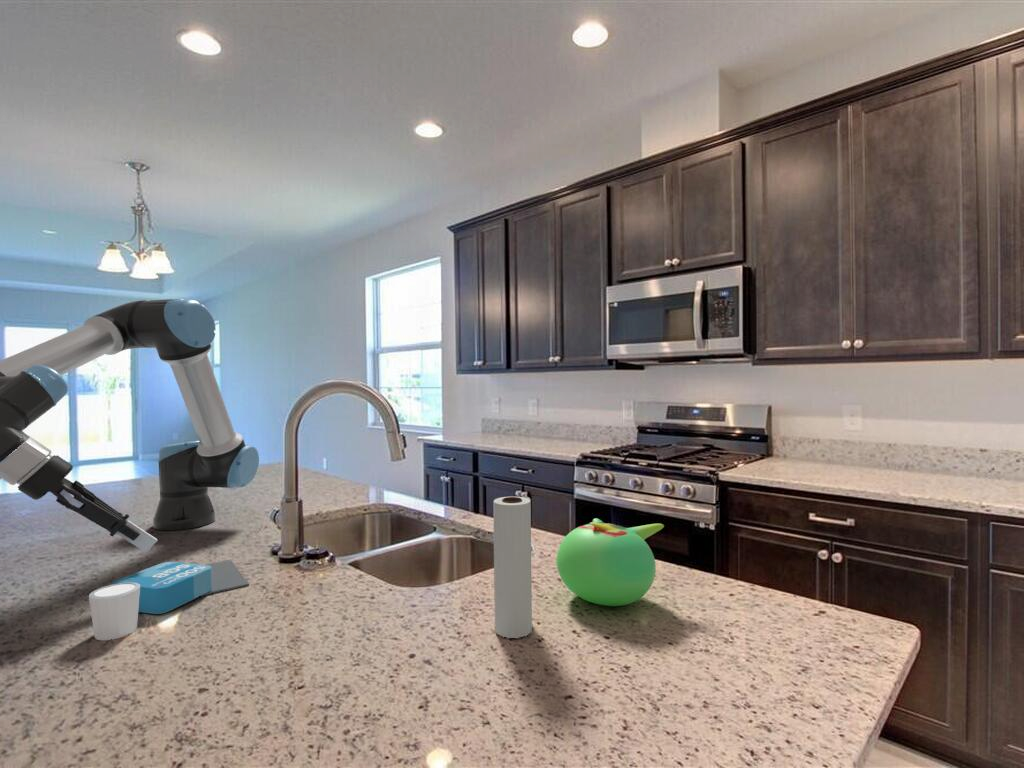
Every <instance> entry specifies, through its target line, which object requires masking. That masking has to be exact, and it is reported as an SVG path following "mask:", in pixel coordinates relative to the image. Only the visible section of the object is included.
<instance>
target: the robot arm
mask: <svg viewBox="0 0 1024 768" xmlns="http://www.w3.org/2000/svg"><path fill="white" fill-rule="evenodd" d="M215 331H216V323H215V319H214V317H213V315H212V313H211V312H210V310H209V309H208V308H207V307H206V306H205V305H204V304H203V303H200V302H198V301H197V300H195V299H182V298H174V299H173V298H169V299H168V298H167V299H154V300H152V299H150V300H143V299H142V300H134V301H131V302H126V303H124V304H120V305H117V306H115V307H112V308H110V309H107V310H105V311H103V312H101V313H98V314H96V315H92V316H91V317H88V318H87V319H86V320H85V321H84V323H83V325H82V326H79V327H76V328H75V329H73V330H69V331H67V332H65V333H63V334H61V335H57V336H55V337H53V338H51V339H48V340H46V341H44V342H40V343H39V344H37V345H35V346H31V347H30V348H28V349H24V350H22V351H20V352H18V353H15V354H13V355H11V356H10V355H9V356H7V357H5V358H4V359H1V360H0V480H2V479H3V481H4V482H5V483H7V484H9V485H11V486H15V485H16V484H17V485H18V486H17V488H18V489H17V490H18V491H20V492H21V493H23V494H24V495H26V496H28V497H29V498H31V499H32V500H34V501H37V500H40V499H42V498H43V497H44V496H46V495H47V494H48V493H51V494H52V495H54V496H55V497H56V499H55V501H56V502H57V503H58V504H60V505H61V506H63V507H65V508H66V509H67V510H71V511H73V512H75V513H77V514H79V515H81V516H83V517H84V518H86V519H87V520H89V521H91V522H93V523H94V524H96V525H98V526H100V527H101V528H103V529H105V530H107V532H109V536H110V537H114V536H115V535H118V536H119V537H121V538H123V540H125V541H127V542H129V543H130V544H132V545H134V546H135V547H137V548H138V549H140V550H141V551H143V553H144V552H145V553H147V552H148V551H150V549H151V548H152V547H153V546H154V545H155V544H156V543H157V542H158V538H156V537H155V536H153V535H152V534H150V533H148V531H145V530H144V529H143V528H141V527H139V526H138V525H136V524H135V523H133V522H132V521H131V520H129V518H130V515H129V514H128V513H126V514H125V515H123V513H122V512H119V511H117V510H116V509H115V508H113V507H112V506H111V505H109V504H108V503H106V502H105V501H104V500H103V499H101V498H99V497H98V496H96V495H95V493H93V492H92V491H90V490H89V489H87V488H86V487H85V486H84V484H82V483H81V482H79V481H78V480H74V481H73V482H72V481H71V480H69V479H68V478H66V477H67V476H68V475H69V474H70V473H71V471H72V470H73V468H74V466H73V464H71V463H70V462H68V461H67V460H65V459H64V458H62V457H61V456H59V455H52V450H51V449H50V448H48V447H46V446H45V445H44V444H43V443H40V442H39V441H37V440H36V439H35V438H33V437H31V436H29V435H28V434H26V433H25V432H24V430H25V429H27V428H28V427H29V426H30V425H32V424H33V423H34V422H35V421H37V420H38V419H39V418H40V417H42V416H43V415H44V414H45V413H47V412H48V411H49V410H51V409H52V408H54V407H55V406H57V404H58V403H59V402H60V401H61V400H63V398H64V397H65V396H67V394H68V391H69V385H68V382H67V380H65V379H64V376H63V375H65V374H68V373H70V372H71V371H74V370H76V369H78V368H79V367H82V366H84V365H86V364H88V363H90V362H91V361H95V360H96V359H99V358H100V357H102V356H104V355H106V356H107V355H108V356H113V355H116V354H119V353H120V352H122V351H126V350H132V349H143V348H145V349H146V348H147V349H148V348H149V349H152V348H154V349H156V352H157V354H158V357H159V360H160V361H162V362H164V363H167V364H169V366H170V368H171V371H172V373H173V376H174V378H175V380H176V384H177V386H178V388H179V391H180V394H181V396H182V399H183V402H184V404H185V407H186V409H187V412H188V414H189V417H190V420H191V422H192V426H193V427H194V430H195V433H196V435H197V439H198V440H192V441H185V442H178V443H173V444H168V445H167V444H166V445H164V446H162V447H161V448H160V449H159V451H158V452H159V453H158V455H159V456H158V461H157V462H158V474H159V475H158V480H159V483H158V484H159V500H158V501H159V502H158V503H157V507H156V510H155V513H154V517H153V518H152V519H153V520H152V529H154V530H158V531H180V530H188V529H189V530H190V529H193V528H198V527H203V526H206V525H209V524H211V523H213V522H214V521H216V511H215V509H214V507H213V503H212V501H211V499H210V496H209V493H208V491H209V490H208V488H225V489H226V488H227V489H235V488H236V489H237V488H238V489H239V488H244V487H247V486H248V485H249V484H251V483H252V482H253V480H254V479H255V477H256V475H257V473H258V470H259V464H260V455H259V451H258V450H257V448H256V447H254V446H253V445H250V444H249V445H248V444H247V445H246V443H245V441H244V437H243V435H242V434H241V433H239V432H236V431H235V430H234V427H233V424H232V421H231V419H230V416H229V413H228V411H227V407H226V405H225V401H224V399H223V395H222V392H221V389H220V387H219V385H218V382H217V378H216V375H215V373H214V370H213V367H212V364H211V362H210V359H209V356H208V354H209V352H210V351H211V349H212V343H213V341H214V339H215V337H216V333H215Z"/></svg>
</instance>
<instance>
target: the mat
mask: <svg viewBox="0 0 1024 768" xmlns="http://www.w3.org/2000/svg"><path fill="white" fill-rule="evenodd" d="M205 565H208V566H211V567H212V590H211V591H210V592H208V593H205V594H203V595H201V597H205V596H209V595H208V594H210V595H213V594H212V593H214V594H218V593H221V592H220V591H223V592H226V591H225V590H227V591H230V590H231V589H232V590H235V589H240V588H241V589H242V588H244V587H249V586H250V583H249V582H248V580H247V579H246V577H245V576H244V575H243V574H242V572H241V571H240V569H239V568H238V567H237V566H236V565H235V564H234V562H233V561H232V560H231V559H226V560H222V561H217V562H212V563H207V564H205ZM217 592H218V593H217ZM204 595H205V596H204Z"/></svg>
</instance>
